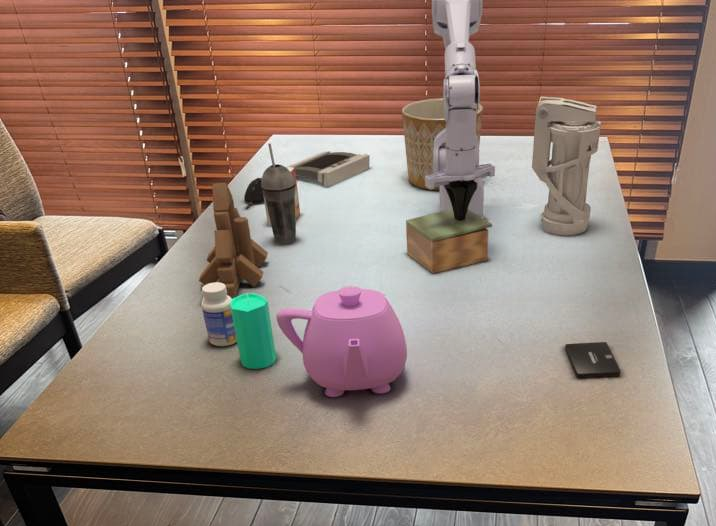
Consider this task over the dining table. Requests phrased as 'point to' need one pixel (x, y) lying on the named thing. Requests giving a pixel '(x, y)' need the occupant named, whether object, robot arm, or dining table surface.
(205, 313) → the pill bottle
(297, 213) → the small box
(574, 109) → the lantern
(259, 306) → the candle
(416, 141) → the planter
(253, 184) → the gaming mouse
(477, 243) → the open wooden box
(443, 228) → the lid
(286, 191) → the beverage cup
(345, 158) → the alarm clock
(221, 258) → the wooden blocks
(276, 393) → the dining table surface
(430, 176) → the robot arm
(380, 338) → the teapot
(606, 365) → the solid state drive
